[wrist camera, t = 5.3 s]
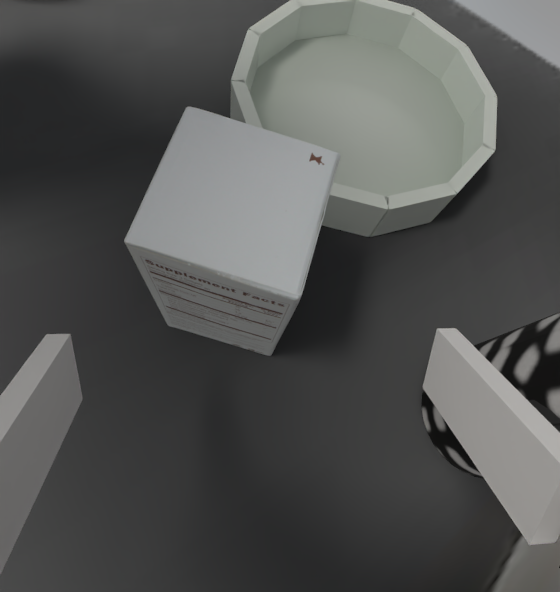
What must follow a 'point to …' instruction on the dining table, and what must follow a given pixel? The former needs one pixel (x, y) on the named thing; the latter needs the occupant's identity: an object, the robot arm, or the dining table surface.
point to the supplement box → (231, 228)
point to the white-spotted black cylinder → (517, 370)
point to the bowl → (370, 105)
